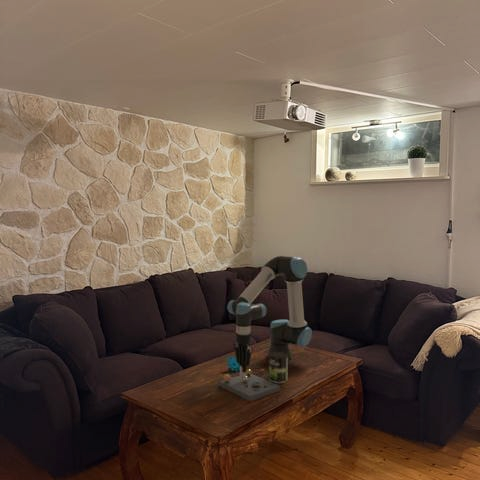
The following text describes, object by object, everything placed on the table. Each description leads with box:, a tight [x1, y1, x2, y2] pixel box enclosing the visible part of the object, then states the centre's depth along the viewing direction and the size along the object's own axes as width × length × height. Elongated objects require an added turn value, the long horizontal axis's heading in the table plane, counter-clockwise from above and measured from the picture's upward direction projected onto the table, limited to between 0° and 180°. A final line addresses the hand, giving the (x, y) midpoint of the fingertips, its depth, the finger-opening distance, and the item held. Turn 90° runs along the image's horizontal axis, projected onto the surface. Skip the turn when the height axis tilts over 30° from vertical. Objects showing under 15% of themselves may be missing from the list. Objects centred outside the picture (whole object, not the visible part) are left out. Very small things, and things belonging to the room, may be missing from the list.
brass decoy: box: [245, 368, 253, 375], centre depth 241 cm, size 3×3×3 cm
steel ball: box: [243, 376, 249, 382], centre depth 231 cm, size 3×3×3 cm
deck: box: [219, 373, 281, 402], centre depth 229 cm, size 24×20×2 cm
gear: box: [225, 355, 240, 373], centre depth 257 cm, size 11×6×10 cm
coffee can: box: [268, 351, 289, 384], centre depth 241 cm, size 10×10×14 cm
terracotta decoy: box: [222, 373, 232, 382], centre depth 231 cm, size 4×4×4 cm
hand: (242, 377), depth 233 cm, fingers closed
